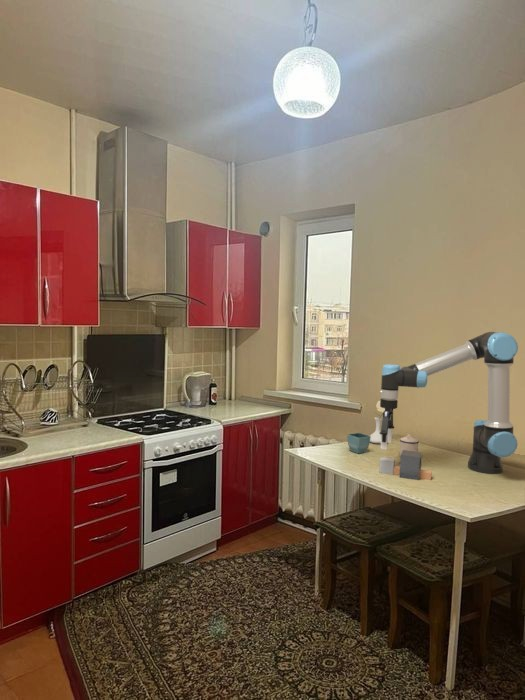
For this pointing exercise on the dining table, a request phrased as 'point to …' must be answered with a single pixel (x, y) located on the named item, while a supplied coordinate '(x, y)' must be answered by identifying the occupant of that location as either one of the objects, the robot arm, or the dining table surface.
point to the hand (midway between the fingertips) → (386, 445)
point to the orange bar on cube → (389, 468)
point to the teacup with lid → (408, 444)
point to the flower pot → (358, 442)
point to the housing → (410, 464)
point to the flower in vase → (377, 426)
